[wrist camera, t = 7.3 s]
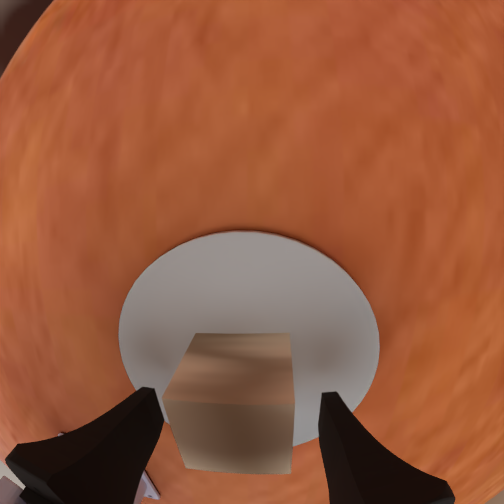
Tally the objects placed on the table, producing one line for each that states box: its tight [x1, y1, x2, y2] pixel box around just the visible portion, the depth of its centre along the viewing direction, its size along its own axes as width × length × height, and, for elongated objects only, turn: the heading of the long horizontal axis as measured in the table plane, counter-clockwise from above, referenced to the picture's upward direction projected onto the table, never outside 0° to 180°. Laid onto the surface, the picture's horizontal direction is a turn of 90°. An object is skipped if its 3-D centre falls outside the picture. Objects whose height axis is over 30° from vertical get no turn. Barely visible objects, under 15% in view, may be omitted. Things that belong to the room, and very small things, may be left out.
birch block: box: [162, 333, 295, 474], centre depth 11 cm, size 4×4×5 cm
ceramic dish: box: [118, 230, 380, 446], centre depth 14 cm, size 14×14×1 cm
